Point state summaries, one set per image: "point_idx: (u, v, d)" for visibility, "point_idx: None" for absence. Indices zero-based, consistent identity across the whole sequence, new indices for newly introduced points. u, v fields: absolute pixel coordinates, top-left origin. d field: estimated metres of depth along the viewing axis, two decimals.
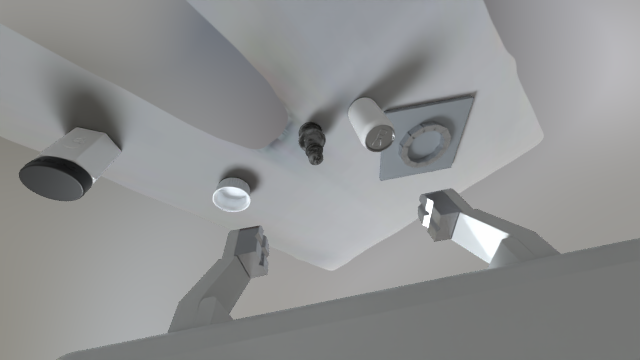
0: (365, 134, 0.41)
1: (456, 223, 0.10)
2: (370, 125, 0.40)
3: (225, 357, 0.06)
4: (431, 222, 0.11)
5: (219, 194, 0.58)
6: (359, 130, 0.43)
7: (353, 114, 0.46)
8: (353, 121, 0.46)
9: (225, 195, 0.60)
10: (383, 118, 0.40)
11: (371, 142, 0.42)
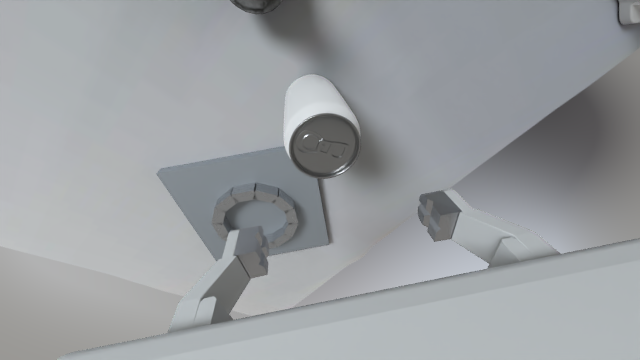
0: (334, 111, 0.17)
1: (456, 223, 0.10)
2: (353, 120, 0.18)
3: (225, 357, 0.06)
4: (431, 222, 0.11)
5: None
6: (324, 95, 0.18)
7: (325, 82, 0.23)
8: (317, 83, 0.21)
9: None
10: None
11: (313, 131, 0.17)
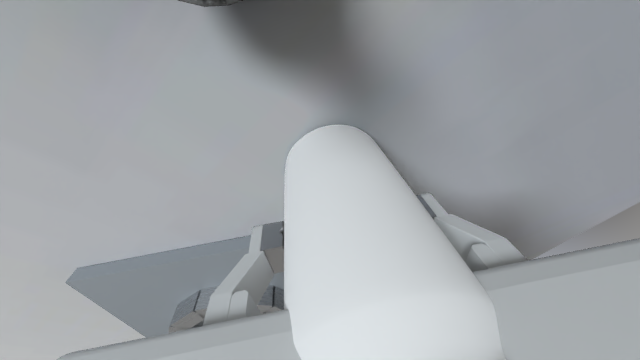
0: (464, 341, 0.05)
1: None
2: None
3: (225, 357, 0.06)
4: None
5: None
6: (403, 242, 0.06)
7: (371, 153, 0.11)
8: (359, 164, 0.10)
9: None
10: None
11: None
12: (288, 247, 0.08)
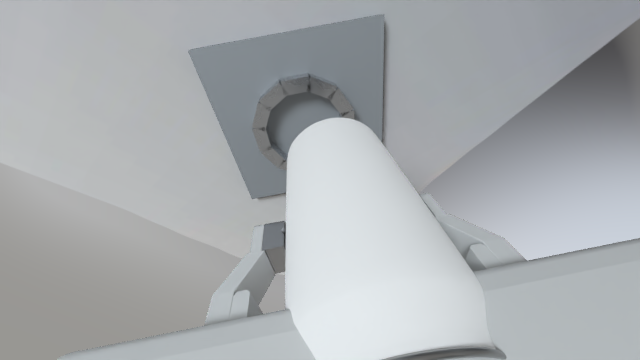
0: (446, 321, 0.05)
1: None
2: None
3: (225, 357, 0.06)
4: None
5: None
6: (392, 230, 0.07)
7: (367, 145, 0.11)
8: (355, 157, 0.10)
9: None
10: None
11: None
12: (288, 238, 0.09)
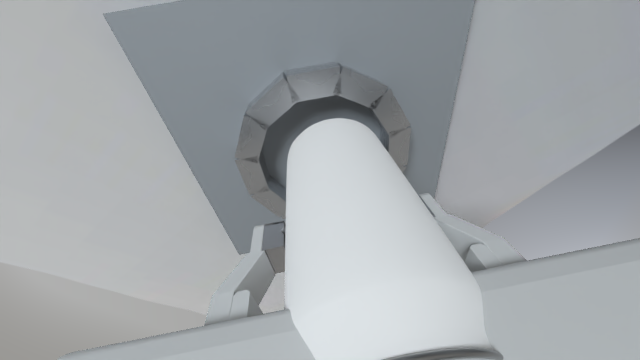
0: (444, 321, 0.05)
1: None
2: None
3: (225, 357, 0.06)
4: None
5: None
6: (391, 231, 0.07)
7: (367, 146, 0.11)
8: (354, 158, 0.10)
9: None
10: None
11: None
12: (287, 239, 0.09)
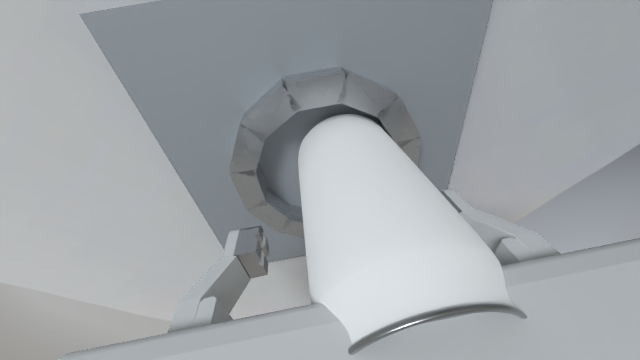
0: (465, 282, 0.06)
1: None
2: (502, 278, 0.06)
3: (225, 357, 0.06)
4: None
5: None
6: (409, 208, 0.07)
7: (376, 137, 0.11)
8: (366, 147, 0.10)
9: None
10: None
11: None
12: (307, 226, 0.09)
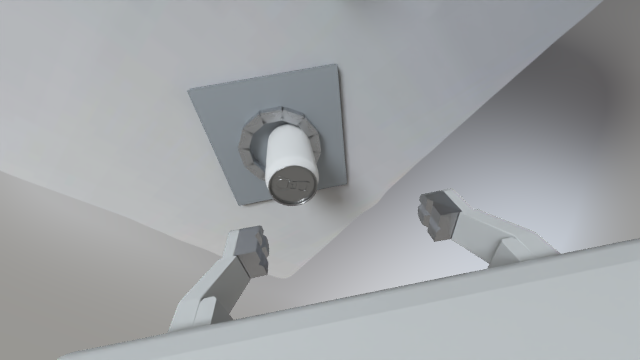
0: (295, 163, 0.25)
1: (456, 223, 0.10)
2: (309, 165, 0.26)
3: (225, 357, 0.06)
4: (431, 222, 0.11)
5: None
6: (289, 150, 0.27)
7: (294, 133, 0.31)
8: (287, 136, 0.30)
9: None
10: (318, 178, 0.28)
11: (283, 177, 0.25)
12: (266, 161, 0.29)
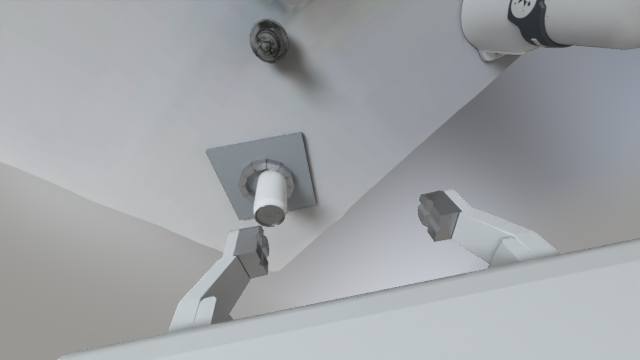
0: (270, 203, 0.42)
1: (456, 223, 0.10)
2: (279, 203, 0.43)
3: (225, 357, 0.06)
4: (431, 222, 0.11)
5: None
6: (268, 193, 0.43)
7: (273, 178, 0.48)
8: (268, 181, 0.47)
9: None
10: (286, 210, 0.45)
11: (263, 210, 0.42)
12: None
